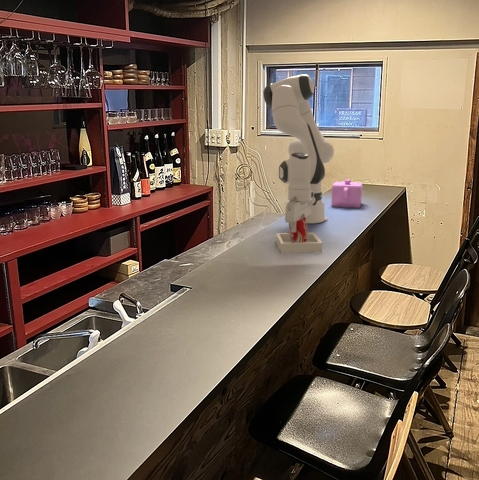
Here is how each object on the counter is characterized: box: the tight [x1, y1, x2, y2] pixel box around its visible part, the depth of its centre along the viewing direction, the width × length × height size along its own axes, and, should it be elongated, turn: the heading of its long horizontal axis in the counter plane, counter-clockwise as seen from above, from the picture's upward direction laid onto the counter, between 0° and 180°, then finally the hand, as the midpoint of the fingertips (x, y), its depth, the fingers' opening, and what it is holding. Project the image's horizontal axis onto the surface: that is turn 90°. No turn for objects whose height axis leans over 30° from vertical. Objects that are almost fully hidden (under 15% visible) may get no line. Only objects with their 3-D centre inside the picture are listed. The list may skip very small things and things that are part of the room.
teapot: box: [331, 179, 363, 209], centre depth 295 cm, size 15×25×14 cm, turn 164°
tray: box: [275, 232, 323, 254], centre depth 213 cm, size 16×16×4 cm
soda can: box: [288, 215, 308, 243], centre depth 211 cm, size 7×7×12 cm
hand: (298, 229), depth 211 cm, fingers closed on soda can, 7 cm apart
